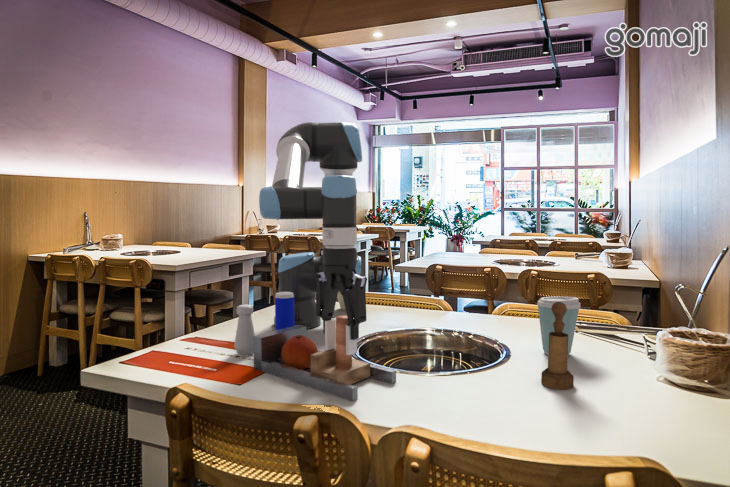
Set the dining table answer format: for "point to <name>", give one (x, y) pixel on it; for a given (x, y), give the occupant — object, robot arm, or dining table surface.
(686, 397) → the dining table surface
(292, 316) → the beverage can
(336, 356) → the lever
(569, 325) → the disposable coffee cup
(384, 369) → the press base
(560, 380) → the mortar and pestle
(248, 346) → the salt shaker
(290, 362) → the fruit
